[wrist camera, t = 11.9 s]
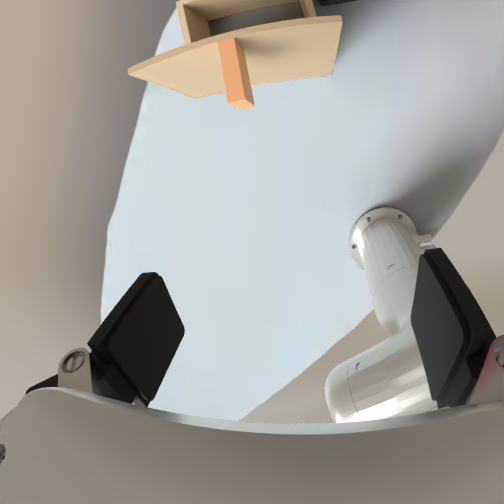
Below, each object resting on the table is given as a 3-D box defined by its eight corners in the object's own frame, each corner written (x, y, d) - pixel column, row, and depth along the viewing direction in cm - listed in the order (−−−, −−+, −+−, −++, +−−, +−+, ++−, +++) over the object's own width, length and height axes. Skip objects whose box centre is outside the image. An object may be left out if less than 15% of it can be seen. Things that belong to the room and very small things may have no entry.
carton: (303, -3, 28) (302, -28, 20) (323, 76, 35) (329, 68, 26) (202, 18, 32) (175, 2, 24) (219, 94, 39) (196, 93, 30)
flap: (340, 15, 13) (360, 84, 15) (331, 69, 26) (340, 114, 28) (127, 68, 17) (134, 130, 19) (195, 94, 30) (202, 136, 32)
